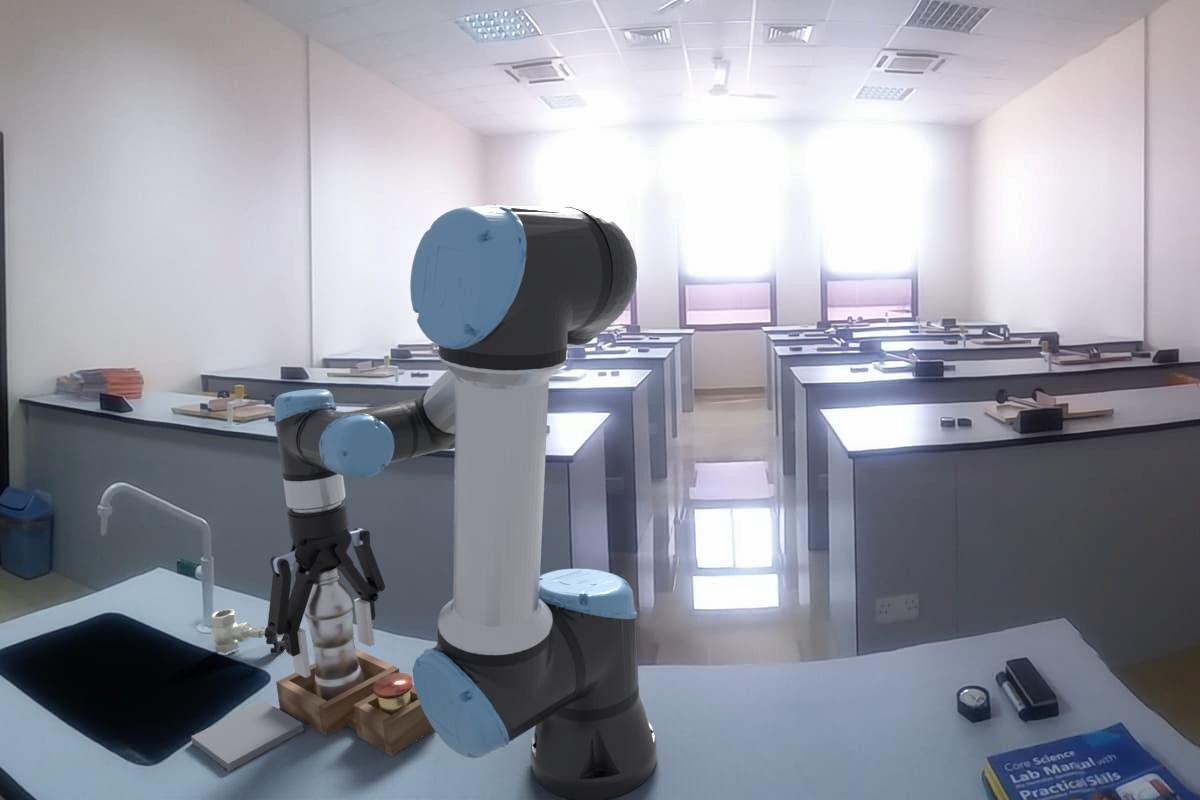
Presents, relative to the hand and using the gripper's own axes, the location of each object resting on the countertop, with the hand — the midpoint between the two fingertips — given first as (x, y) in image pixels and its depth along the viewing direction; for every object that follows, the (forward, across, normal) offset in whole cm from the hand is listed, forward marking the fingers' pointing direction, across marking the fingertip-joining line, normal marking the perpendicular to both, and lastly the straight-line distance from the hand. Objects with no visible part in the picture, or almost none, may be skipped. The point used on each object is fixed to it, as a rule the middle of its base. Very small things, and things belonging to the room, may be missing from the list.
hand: (335, 657), depth 108 cm
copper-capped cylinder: (+6, 0, +13) cm, 14 cm away
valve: (+7, 0, -26) cm, 27 cm away
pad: (+7, +12, -3) cm, 14 cm away
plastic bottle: (+7, 0, 0) cm, 7 cm away
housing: (+7, 0, +5) cm, 8 cm away
